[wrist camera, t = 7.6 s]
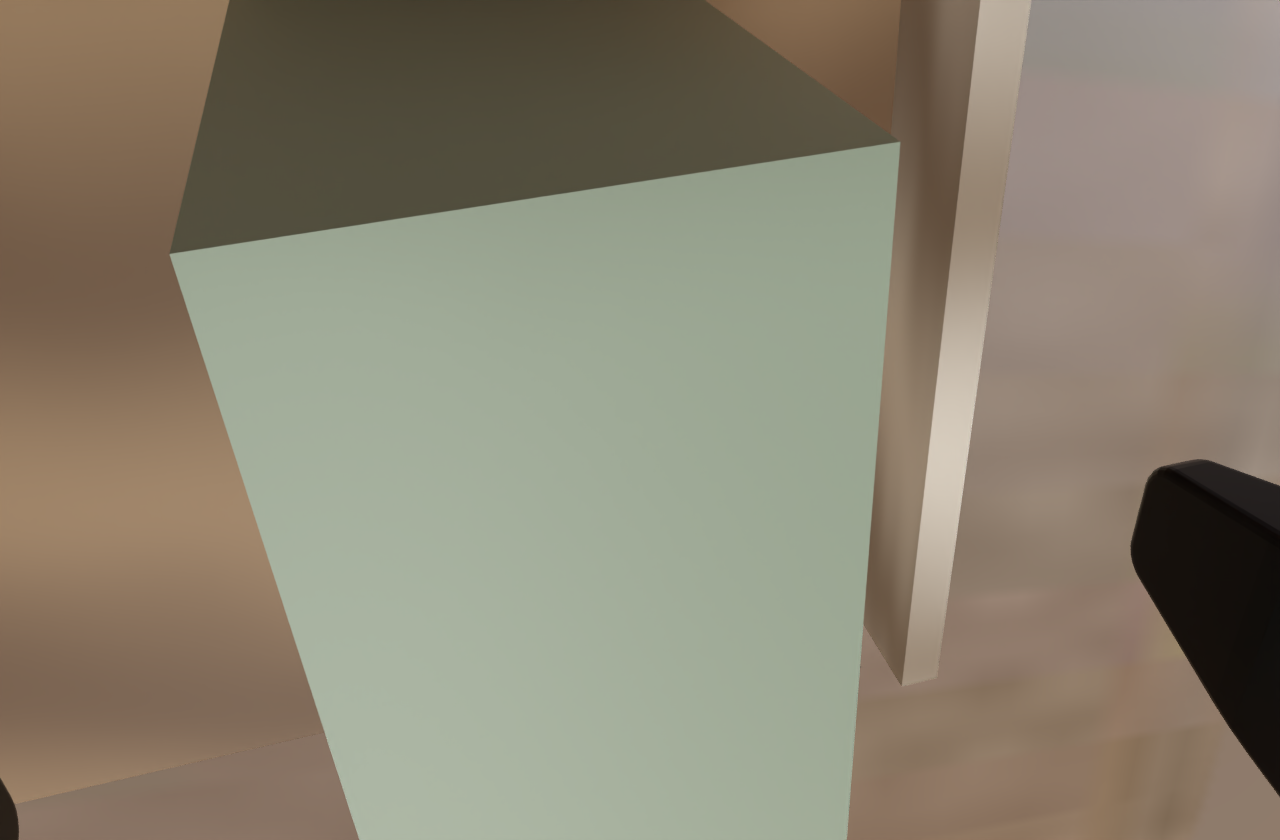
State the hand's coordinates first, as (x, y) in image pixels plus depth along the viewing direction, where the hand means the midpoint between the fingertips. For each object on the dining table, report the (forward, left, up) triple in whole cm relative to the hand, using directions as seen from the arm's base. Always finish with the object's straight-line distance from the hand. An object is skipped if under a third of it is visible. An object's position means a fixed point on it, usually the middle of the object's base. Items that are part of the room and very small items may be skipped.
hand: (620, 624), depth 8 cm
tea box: (0, 0, -7) cm, 7 cm away
